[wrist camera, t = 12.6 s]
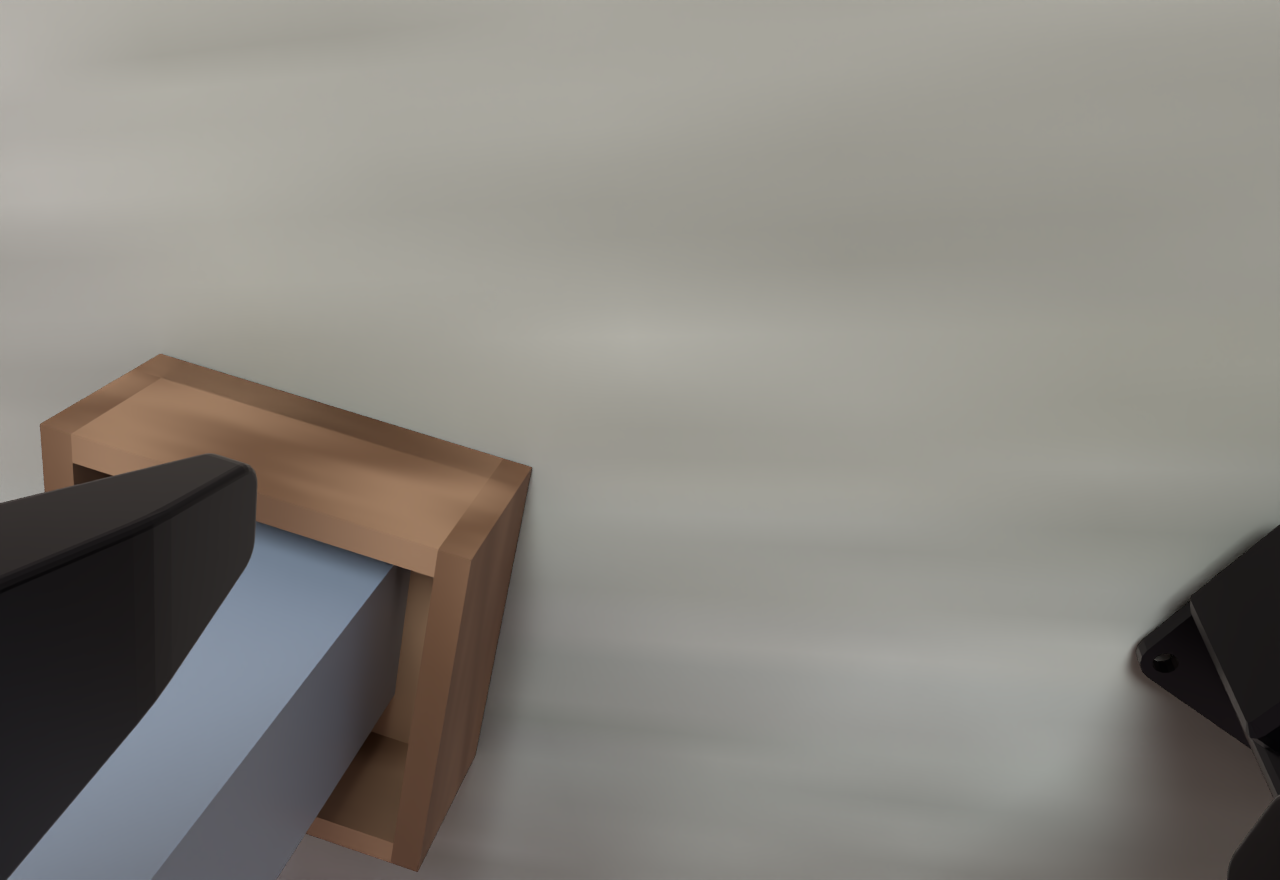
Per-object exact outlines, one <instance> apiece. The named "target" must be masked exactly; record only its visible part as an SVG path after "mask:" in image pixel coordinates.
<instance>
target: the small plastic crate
mask: <svg viewBox="0 0 1280 880" xmlns="http://www.w3.org/2000/svg"><path fill="white" fill-rule="evenodd" d="M410 573H411V570H408V569H405V568H402V567H399V566H396V565H393V564H390V563H386V562H383V561H380V560H377V559H374V558H371V557H368V556H364V555H361V554H358V553H355V552H352V551H349V550H345V549H342V548H339V547H336V546H333V545H330V544H327V543H323V542H320V541H317V540H314V539H311V538H308V537H305V536H301V535H298V534H295V533H292V532H289V531H286V530H283V529H279V528H276V527H273V526H270V525H267V524H264V523H261V522H257V521H256V529H255V544H254V548H253V552H252V555H251V558H250V560H249V562H248V565H247V566H246V568H245V570H244V571H243V573H242V574H241V576H240V577H239V579H238V580H237V582H236V583H235V585H234V586H233V588H232V589H231V591H230V592H229V594H228V595H227V597H226V598H225V600H224V601H223V603H222V604H221V606H220V607H219V609H218V610H217V612H216V613H215V615H214V616H213V618H212V619H211V621H210V622H209V624H208V625H207V627H206V628H205V630H204V631H203V633H202V634H201V636H200V637H199V639H198V640H197V642H196V643H195V645H194V646H193V648H192V649H191V651H190V652H189V654H188V655H187V657H186V658H185V660H184V661H183V663H182V664H181V666H180V667H179V669H178V670H177V672H176V673H175V675H174V676H173V678H172V679H171V681H170V682H169V684H168V685H167V687H166V688H165V689H164V691H163V692H162V694H161V695H160V696H159V698H158V699H157V701H156V702H155V703H154V704H153V706H152V707H151V708H150V709H149V711H148V712H147V713H146V714H145V716H144V717H143V718H142V720H141V721H140V722H139V723H138V724H137V726H136V727H135V728H134V729H133V730H132V732H131V733H130V734H129V735H128V736H127V738H126V739H125V740H124V741H123V742H122V744H121V745H120V746H119V747H118V748H117V749H116V751H115V752H114V753H113V754H112V755H111V757H110V758H109V759H108V760H107V761H106V763H105V764H104V765H103V766H102V767H101V769H100V770H99V771H98V772H97V773H96V775H95V776H94V777H93V778H92V779H91V780H90V782H89V783H88V784H87V785H86V786H85V788H84V789H83V790H82V791H81V792H80V794H79V795H78V796H77V797H76V798H75V800H74V801H73V802H72V803H71V804H70V805H69V807H68V808H67V809H66V810H65V811H64V813H63V814H62V815H61V816H60V817H59V819H58V820H57V821H56V822H55V823H54V825H53V826H52V827H51V828H50V829H49V830H48V832H47V833H46V834H45V835H44V836H43V838H42V839H41V840H40V841H39V842H38V844H37V845H36V846H35V847H34V848H33V850H32V851H31V852H30V853H29V854H28V855H27V857H26V858H25V859H24V860H23V861H22V863H21V864H20V865H19V866H18V867H17V869H16V870H15V871H14V872H13V873H12V875H11V876H10V877H9V878H8V879H7V880H276V879H277V877H278V876H279V874H280V873H281V871H282V870H283V868H284V867H285V865H286V863H287V862H288V860H289V859H290V857H291V856H292V854H293V852H294V851H295V849H296V848H297V846H298V845H299V843H300V842H301V840H302V838H303V837H304V835H305V834H306V832H307V831H308V829H309V827H310V826H311V824H312V823H313V821H314V820H315V818H316V817H317V815H318V813H319V812H320V810H321V809H322V807H323V806H324V804H325V802H326V801H327V799H328V798H329V796H330V795H331V793H332V792H333V790H334V788H335V787H336V785H337V784H338V782H339V781H340V779H341V777H342V776H343V774H344V773H345V771H346V770H347V768H348V767H349V765H350V763H351V762H352V760H353V759H354V757H355V756H356V754H357V752H358V751H359V749H360V748H361V746H362V745H363V743H364V742H365V740H366V738H367V737H368V735H369V734H370V732H371V731H372V729H373V727H374V726H375V724H376V723H377V721H378V720H379V718H380V716H381V715H382V713H383V712H384V710H385V709H386V707H387V706H388V704H389V702H390V701H391V699H392V698H393V696H394V695H395V688H396V680H397V672H398V665H399V657H400V649H401V642H402V634H403V627H404V619H405V611H406V604H407V596H408V588H409V581H410Z"/></svg>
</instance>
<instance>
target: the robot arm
mask: <svg viewBox="0 0 1280 880" xmlns="http://www.w3.org/2000/svg"><path fill="white" fill-rule="evenodd" d="M256 506H257V476H256V472H255V470H254V469H253V468H252V467H251V466H250V465H249V464H246V463H243V462H240V461H237V460H234V459H230V458H227V457H224V456H221V455H217V454H213V453H207V454H202V455H197V456H193V457H189V458H185V459H181V460H177V461H173V462H168V463H164V464H160V465H156V466H152V467H148V468H144V469H139V470H135V471H131V472H127V473H123V474H119V475H115V476H110V477H106V478H102V479H98V480H94V481H90V482H86V483H82V484H77V485H73V486H69V487H65V488H61V489H57V490H53V491H48V492H44V493H40V494H36V495H32V496H28V497H24V498H19V499H15V500H11V501H7V502H3V503H0V880H7V879H8V878H9V877H10V876H11V875H12V873H13V872H14V871H15V870H16V869H17V867H18V866H19V865H20V864H21V863H22V861H23V860H24V859H25V858H26V857H27V855H28V854H29V853H30V852H31V851H32V850H33V848H34V847H35V846H36V845H37V844H38V842H39V841H40V840H41V839H42V838H43V836H44V835H45V834H46V833H47V832H48V830H49V829H50V828H51V827H52V826H53V825H54V823H55V822H56V821H57V820H58V819H59V817H60V816H61V815H62V814H63V813H64V811H65V810H66V809H67V808H68V807H69V805H70V804H71V803H72V802H73V801H74V800H75V798H76V797H77V796H78V795H79V794H80V792H81V791H82V790H83V789H84V788H85V786H86V785H87V784H88V783H89V782H90V780H91V779H92V778H93V777H94V776H95V775H96V773H97V772H98V771H99V770H100V769H101V767H102V766H103V765H104V764H105V763H106V761H107V760H108V759H109V758H110V757H111V755H112V754H113V753H114V752H115V751H116V749H117V748H118V747H119V746H120V745H121V744H122V742H123V741H124V740H125V739H126V738H127V736H128V735H129V734H130V733H131V732H132V730H133V729H134V728H135V727H136V726H137V724H138V723H139V722H140V721H141V720H142V718H143V717H144V716H145V714H146V713H147V712H148V711H149V709H150V708H151V707H152V706H153V704H154V703H155V702H156V701H157V699H158V698H159V696H160V695H161V694H162V692H163V691H164V689H165V688H166V687H167V685H168V684H169V682H170V681H171V679H172V678H173V676H174V675H175V673H176V672H177V670H178V669H179V667H180V666H181V664H182V663H183V661H184V660H185V658H186V657H187V655H188V654H189V652H190V651H191V649H192V648H193V646H194V645H195V643H196V642H197V640H198V639H199V637H200V636H201V634H202V633H203V631H204V630H205V628H206V627H207V625H208V624H209V622H210V621H211V619H212V618H213V616H214V615H215V613H216V612H217V610H218V609H219V607H220V606H221V604H222V603H223V601H224V600H225V598H226V597H227V595H228V594H229V592H230V591H231V589H232V588H233V586H234V585H235V583H236V582H237V580H238V579H239V577H240V576H241V574H242V573H243V571H244V570H245V568H246V566H247V565H248V562H249V560H250V558H251V555H252V552H253V548H254V544H255V529H256ZM1161 654H1171V655H1173V656H1172V657H1171V658H1170V659H1168V660H1166V661H1156V660H1154V659H1155V657H1156V656H1159V655H1161ZM1136 655H1137V658H1138V661H1139V664H1140V667H1141V670H1142V672H1143V673H1144V674H1145V675H1146V676H1147V677H1148V678H1149V679H1151V680H1152V681H1154V682H1155V683H1157V684H1158V685H1160V686H1161V687H1162V688H1164V689H1165V690H1167V691H1168V692H1170V693H1171V694H1173V695H1174V696H1175V697H1177V698H1178V699H1180V700H1181V701H1183V702H1184V703H1186V704H1187V705H1188V706H1190V707H1191V708H1193V709H1194V710H1196V711H1197V712H1199V713H1200V714H1201V715H1203V716H1204V717H1206V718H1207V719H1209V720H1210V721H1211V722H1213V723H1214V724H1216V725H1217V726H1219V727H1220V728H1222V729H1223V730H1224V731H1226V732H1227V733H1229V734H1230V735H1232V736H1233V737H1235V738H1236V739H1237V740H1239V741H1240V742H1242V743H1243V744H1245V745H1246V746H1248V747H1249V748H1250V749H1252V751H1253V754H1254V756H1255V758H1256V760H1257V763H1258V765H1259V767H1260V769H1261V771H1262V774H1263V776H1264V778H1265V780H1266V783H1267V785H1268V787H1269V789H1270V791H1271V794H1272V796H1273V798H1274V800H1273V801H1272V802H1271V804H1270V805H1269V806H1268V808H1267V809H1266V810H1265V812H1264V813H1263V814H1262V816H1261V817H1260V819H1259V820H1258V821H1257V823H1256V824H1255V825H1254V827H1253V828H1252V829H1251V831H1250V832H1249V833H1248V835H1247V836H1246V837H1245V839H1244V840H1243V842H1242V843H1241V844H1240V846H1239V847H1238V848H1237V850H1236V851H1235V853H1234V855H1233V856H1232V859H1231V861H1230V864H1229V868H1228V874H1227V880H1280V525H1279V526H1277V527H1276V528H1275V529H1274V530H1273V531H1271V532H1270V533H1269V534H1268V535H1266V536H1265V537H1264V538H1263V539H1261V540H1260V541H1259V542H1258V543H1256V544H1255V545H1254V546H1253V547H1252V548H1250V549H1249V550H1248V551H1247V552H1245V553H1244V554H1243V555H1242V556H1240V557H1239V558H1238V559H1237V560H1235V561H1234V562H1233V563H1232V564H1230V565H1229V566H1228V567H1227V568H1226V569H1224V570H1223V571H1222V572H1221V573H1219V574H1218V575H1217V576H1216V577H1214V578H1213V579H1212V580H1211V581H1209V582H1208V583H1207V584H1206V585H1204V586H1203V587H1202V588H1201V589H1200V590H1198V591H1197V592H1196V593H1195V594H1193V595H1192V596H1191V600H1190V602H1189V603H1187V604H1186V605H1185V606H1184V607H1182V608H1181V609H1180V610H1179V611H1177V612H1176V613H1175V614H1174V615H1172V616H1171V617H1170V618H1169V619H1167V620H1166V621H1165V622H1164V623H1163V624H1161V625H1160V626H1159V627H1158V628H1156V629H1155V630H1154V631H1153V632H1151V633H1150V634H1149V635H1148V636H1146V637H1145V638H1144V639H1143V640H1142V641H1141V642H1140V643H1139V645H1138V647H1137V651H1136Z"/></svg>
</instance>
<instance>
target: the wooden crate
mask: <svg viewBox="0 0 1280 880" xmlns="http://www.w3.org/2000/svg"><path fill="white" fill-rule="evenodd" d="M40 432H41V446H42V460H43V474H44V488H45V492H48V491H53V490H57V489H61V488H65V487H69V486H73V485H77V484H82V483H86V482H90V481H94V480H98V479H102V478H106V477H110V476H115V475H119V474H123V473H127V472H131V471H135V470H139V469H144V468H148V467H152V466H156V465H160V464H164V463H168V462H173V461H177V460H181V459H185V458H189V457H193V456H197V455H202V454H207V453H213V454H217V455H221V456H224V457H227V458H230V459H234V460H237V461H240V462H243V463H246V464H249V465H250V466H251V467H252V468H253V469H254V470H255V472H256V476H257V506H256V521H257V522H261V523H264V524H267V525H270V526H273V527H276V528H279V529H283V530H286V531H289V532H292V533H295V534H298V535H301V536H305V537H308V538H311V539H314V540H317V541H320V542H323V543H327V544H330V545H333V546H336V547H339V548H342V549H345V550H349V551H352V552H355V553H358V554H361V555H364V556H368V557H371V558H374V559H377V560H380V561H383V562H386V563H390V564H393V565H396V566H399V567H402V568H405V569H408V570H411V573H410V581H409V588H408V596H407V604H406V611H405V619H404V627H403V634H402V642H401V649H400V657H399V665H398V672H397V680H396V688H395V695H394V696H393V698H392V699H391V701H390V702H389V704H388V706H387V707H386V709H385V710H384V712H383V713H382V715H381V716H380V718H379V720H378V721H377V723H376V724H375V726H374V727H373V729H372V731H371V732H370V734H369V735H368V737H367V738H366V740H365V742H364V743H363V745H362V746H361V748H360V749H359V751H358V752H357V754H356V756H355V757H354V759H353V760H352V762H351V763H350V765H349V767H348V768H347V770H346V771H345V773H344V774H343V776H342V777H341V779H340V781H339V782H338V784H337V785H336V787H335V788H334V790H333V792H332V793H331V795H330V796H329V798H328V799H327V801H326V802H325V804H324V806H323V807H322V809H321V810H320V812H319V813H318V815H317V817H316V818H315V820H314V821H313V823H312V824H311V826H310V827H309V829H308V831H307V832H306V834H309V835H311V836H314V837H317V838H320V839H323V840H326V841H329V842H332V843H335V844H338V845H341V846H343V847H346V848H349V849H352V850H355V851H358V852H361V853H364V854H367V855H370V856H373V857H375V858H378V859H381V860H384V861H387V862H390V863H393V864H396V865H399V866H402V867H405V868H407V869H410V870H413V871H416V872H418V870H419V868H420V866H421V864H422V862H423V860H424V858H425V856H426V854H427V852H428V850H429V848H430V846H431V844H432V842H433V840H434V838H435V836H436V834H437V832H438V830H439V828H440V826H441V824H442V822H443V820H444V818H445V816H446V814H447V812H448V810H449V808H450V806H451V804H452V802H453V800H454V798H455V796H456V794H457V791H458V789H459V787H460V785H461V783H462V781H463V779H464V777H465V775H466V773H467V771H468V769H469V767H470V765H471V763H472V761H473V759H474V757H475V755H476V750H477V745H478V740H479V735H480V729H481V724H482V719H483V714H484V709H485V704H486V699H487V694H488V689H489V684H490V679H491V673H492V668H493V663H494V658H495V653H496V648H497V643H498V638H499V633H500V628H501V623H502V617H503V612H504V607H505V602H506V597H507V592H508V587H509V582H510V577H511V572H512V567H513V561H514V556H515V551H516V546H517V541H518V536H519V531H520V526H521V521H522V516H523V511H524V505H525V500H526V495H527V490H528V485H529V480H530V475H531V470H532V467H529V466H526V465H523V464H519V463H516V462H513V461H510V460H506V459H503V458H500V457H496V456H493V455H490V454H487V453H483V452H480V451H477V450H474V449H470V448H467V447H464V446H461V445H457V444H454V443H451V442H447V441H444V440H441V439H438V438H434V437H431V436H428V435H425V434H421V433H418V432H415V431H411V430H408V429H405V428H402V427H398V426H395V425H392V424H389V423H385V422H382V421H379V420H375V419H372V418H369V417H366V416H362V415H359V414H356V413H353V412H349V411H346V410H343V409H339V408H336V407H333V406H330V405H326V404H323V403H320V402H317V401H313V400H310V399H307V398H303V397H300V396H297V395H294V394H290V393H287V392H284V391H281V390H277V389H274V388H271V387H267V386H264V385H261V384H258V383H254V382H251V381H248V380H245V379H241V378H238V377H235V376H231V375H228V374H225V373H222V372H218V371H215V370H212V369H209V368H205V367H202V366H199V365H195V364H192V363H189V362H186V361H182V360H179V359H176V358H173V357H169V356H166V355H163V354H159V355H157V356H156V357H154V358H152V359H150V360H149V361H147V362H145V363H144V364H142V365H140V366H138V367H137V368H135V369H133V370H132V371H130V372H128V373H126V374H125V375H123V376H121V377H120V378H118V379H116V380H115V381H113V382H111V383H109V384H108V385H106V386H104V387H103V388H101V389H99V390H97V391H96V392H94V393H92V394H91V395H89V396H87V397H85V398H84V399H82V400H80V401H79V402H77V403H75V404H73V405H72V406H70V407H68V408H67V409H65V410H63V411H61V412H60V413H58V414H56V415H55V416H53V417H51V418H50V419H48V420H46V421H44V422H43V423H41V424H40Z"/></svg>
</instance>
